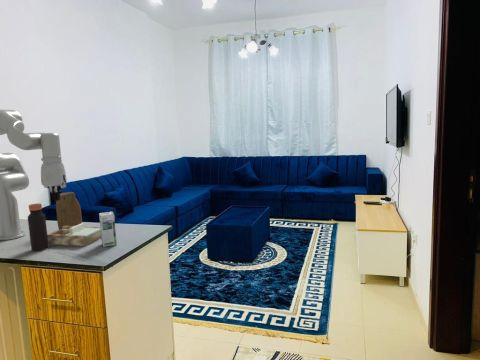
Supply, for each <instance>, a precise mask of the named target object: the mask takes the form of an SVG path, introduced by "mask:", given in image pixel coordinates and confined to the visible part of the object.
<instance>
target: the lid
mask: <svg viewBox="0 0 480 360" xmlns="http://www.w3.org/2000/svg"><path fill="white" fill-rule="evenodd" d="M85 227H86V225H85V222H84V223H83V222H82V223H81V224H79V225H76V226H74V227H71V228H69V233H68V234H66V235H77V236H84V237H88V236H90V235H93V234H95V233H97V232H99V231H101V229H100V228H85Z"/></svg>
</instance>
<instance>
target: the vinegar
mask: <svg viewBox="0 0 480 360" xmlns="http://www.w3.org/2000/svg"><path fill="white" fill-rule="evenodd" d="M28 210H29V214H28V216H27V223H28V224H27V225H28V234H29V239H30V240H29V242H30V249H31V251H33V252H39V251H45V250H47V249H49V246H50V245H48V236H47V234H48V228H47V219H46V214H45V213H44V212H42V210H43V205H42V203H31V204H29V205H28Z"/></svg>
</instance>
